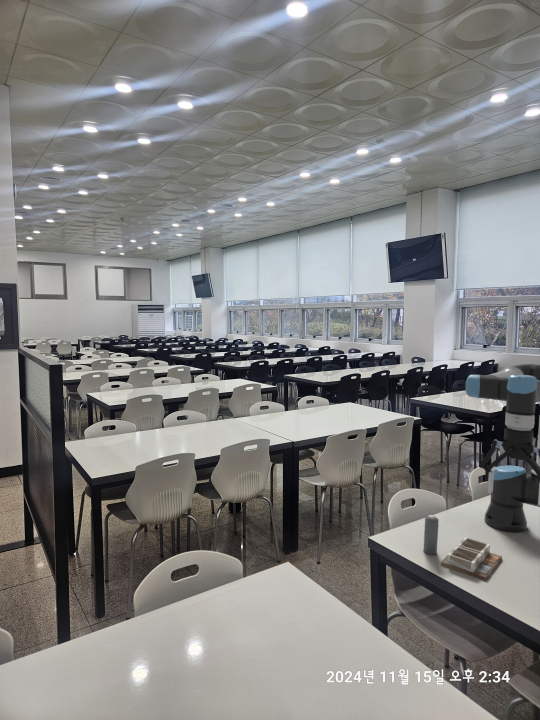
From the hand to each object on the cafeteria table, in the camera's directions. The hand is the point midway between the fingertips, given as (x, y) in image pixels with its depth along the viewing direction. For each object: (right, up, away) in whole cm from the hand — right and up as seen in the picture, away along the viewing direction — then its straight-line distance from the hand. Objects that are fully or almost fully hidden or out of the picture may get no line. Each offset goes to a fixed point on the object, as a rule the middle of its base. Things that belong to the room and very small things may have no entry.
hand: (514, 498), depth 139 cm
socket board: (-5, -26, +17) cm, 32 cm away
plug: (-17, -26, +23) cm, 39 cm away
